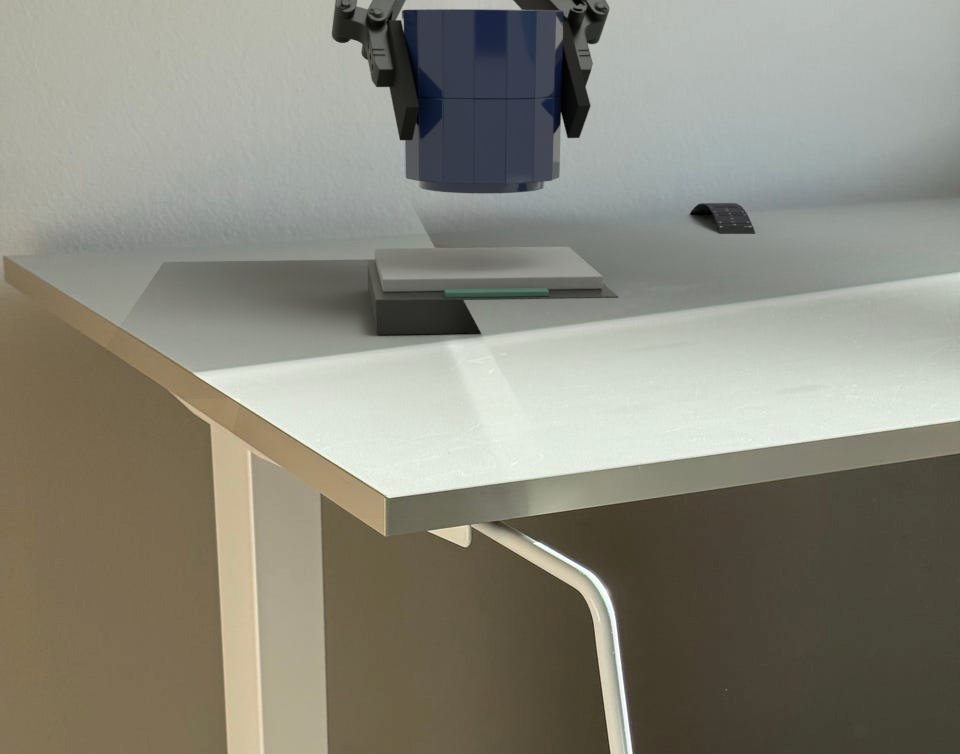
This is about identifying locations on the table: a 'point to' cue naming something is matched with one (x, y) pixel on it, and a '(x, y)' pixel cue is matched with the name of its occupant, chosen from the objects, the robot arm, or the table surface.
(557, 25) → the faceted navy pot
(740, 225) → the black curved arch
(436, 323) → the scale
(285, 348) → the table surface
